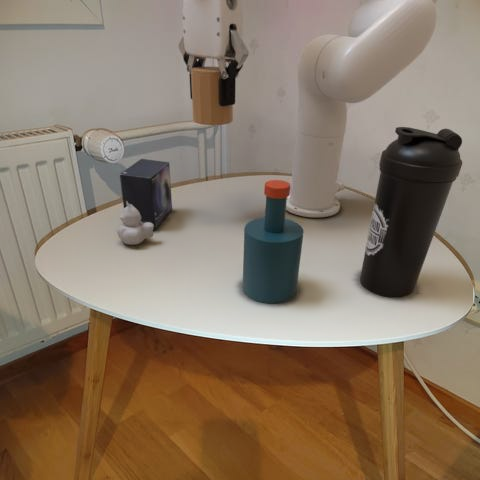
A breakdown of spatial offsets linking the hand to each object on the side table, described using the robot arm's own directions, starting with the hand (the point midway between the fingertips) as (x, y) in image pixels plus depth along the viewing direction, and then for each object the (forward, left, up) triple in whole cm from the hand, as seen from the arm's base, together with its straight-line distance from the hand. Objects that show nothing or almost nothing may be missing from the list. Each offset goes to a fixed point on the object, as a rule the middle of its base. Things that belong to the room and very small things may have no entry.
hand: (212, 100), depth 73 cm
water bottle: (-4, +37, -22) cm, 43 cm away
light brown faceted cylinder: (0, 0, -3) cm, 3 cm away
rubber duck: (+17, -2, -22) cm, 28 cm away
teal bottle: (+11, +25, -22) cm, 35 cm away
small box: (+9, -9, -22) cm, 26 cm away
